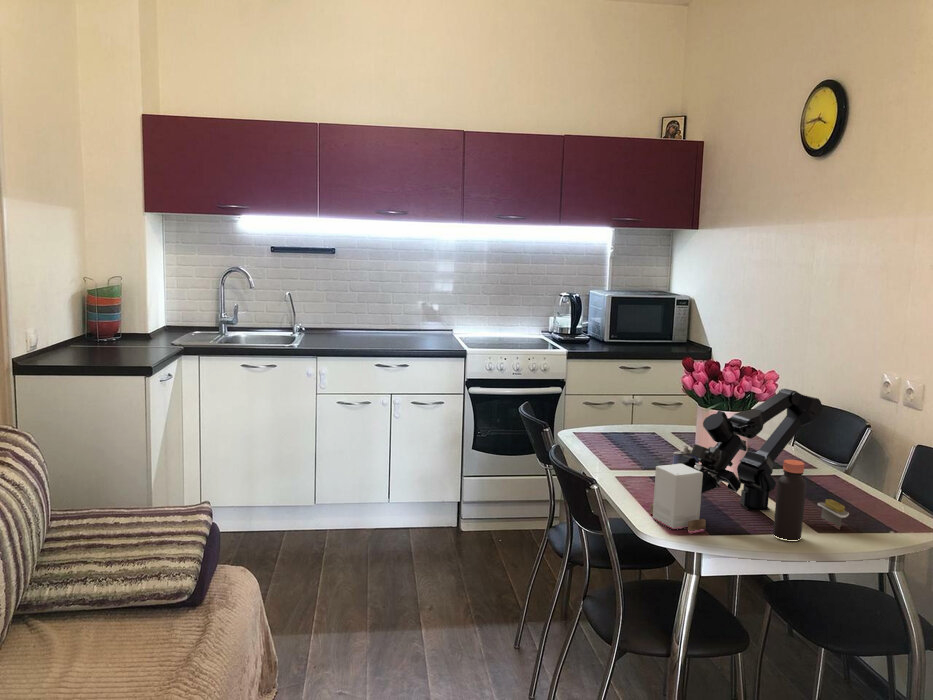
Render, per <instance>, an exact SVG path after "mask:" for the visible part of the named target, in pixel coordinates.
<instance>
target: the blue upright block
mask: <svg viewBox="0 0 933 700" xmlns="http://www.w3.org/2000/svg"><path fill="white" fill-rule="evenodd" d="M682 448H683V450H682V451H681V450H680V451H674V452H673V455H672V456H673V457H672V465H673V464H680V463H679V462H678V459H679V458H680V457H681V455H688V456H690V457H693V458H694V459H695V460H696V461H697V463H698V464H700V462H699V461H698V459H699V458H698V457H696V456H694V455H693V456H692V455H691V452H692V449H689V446H688V445H684V446H682Z"/></svg>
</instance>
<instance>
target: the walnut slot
mask: <svg viewBox="0 0 933 700" xmlns="http://www.w3.org/2000/svg"><path fill="white" fill-rule="evenodd" d="M653 504H654V503H650V512H649V514H650V513H652V514H653ZM706 521H707V520H706V519H704V518H699V519H698V520H693V521H688V528H687V530H689V531H695V530H700V529H705V530H706V524H707V522H706Z"/></svg>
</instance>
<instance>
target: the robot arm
mask: <svg viewBox="0 0 933 700" xmlns="http://www.w3.org/2000/svg"><path fill="white" fill-rule="evenodd" d="M785 410H786V416H785V417H784V418H783V419H782V421H781V422H780V423H779V424H778V425H777V427H776V428H775V429H774V430H773V432H772V433H771V434H770V436H768V438H767V439H766V440H765V442H764V443H763V445H761V447H760V448H759V449H758V451H755V452H753V451H750V450H748V451H747V449H748V448H747V441H746V440H743V439H742V438H741V437H743V438H746V439H750V440H751V439H754V438H755V437H756V436H757V435H758V434H760V433H761V432H762V431H763V429H764V426H765V424H766V423H767V422H769V421H771V420H772V419H774V418H775V417H776V416H778V415H779V414H781V413H782V412H784V411H785ZM822 411H823V404H822V402H821V400H820V399H819V398H817V397H814V396H808V395H805V394H801V393H800V392H798V391H797V390H793V389H789V388H781V389H780V390H779V391H778V392H777V393H775V394H773V396H771V397H769V398H767V400H764V401H763V402H762V403H760V404H759V405H757V406H756V407H754V408H752V409H748V410H741V411H739V412H737V413H734V414H733V415H732V416H731V417H729V418H728V416H727V414H726V413H725V411H723V410H722V411H721V410H718V411H717V412H716V413H713V414H710V415H708V416H706V417H705V418H704V420H703V422H702V426H703V428H704V429H705V431H706V432H707V434H708V435H709V436H710V437H711V439H712V440H713V441H714V442H715V443H716V444H715V445H714V446H713V447H712V446H709V447H704V446H702V445H700V444H696V443H695V444H694V445H693V448H692V449H691V451H692V452H691V455H692V456H693V455H694V456H696V457H698V458H699V459H698V461H699V464H698V463H697V461H696V460H695V459H694V458H693V457H690V456H688V455H681V457H680V458H679V459H678V462H679V463H680V464H684V465H686V466H688V467H691V468H693V469H695V470H698V471H700V472H703V479H702V491H701V495H702V494H704V493H706V492H708V491H712V490H714V489H717V488H718V489H719V488H720V487H721V486H720V484H721V483H722V482H724V483H727V488H728V490H729V491H732V492H735V493H737V492H738V491H739V490H740V489H741V486H742V485H741V484H743V489H741V492H740V494H741V495H740V501H739V504H740V503H741V504H742V505H743V507H744V508H745V509H746V508H747V509H748V510H747V509H746V510H747V511H749V510H770V511H771V508H770V507H769V496H770V492H772V491H774V490H775V488H776V485H777V481H776V480H775V479H774V478H773V476H772V475H773V471H774V470H773V469H774V462H775V460H776V459H777V458H778V456H779V455H780V454H781V453H782V452H783V451H784V449H785V448H786V447H787V446H788V444H789V443H790V442H791V440H792V439H793V438H794V437H795V435H796V434H797V433H798V431H799V430H800V429H801V427H803V426H805V425H808V424H811V423H812V422H814V421H815V420H816V419H817V418H818V417H819V416H820V415H821V413H822ZM740 450H741V451H743V452H746V453H745V455H744V456H743V457H742V458H741V459H740V460H739V463H738V465H737V467H736V468H737V469H736V470H737V475H736V473H734V472H733V471H732V470H728V469H727V467H730V468H731V467H733V465H734V463H733V462H732V461H733V459H734V458H735V457H736V455H737V454H738V453H739V451H740ZM737 476H738V477H737ZM741 504H740V505H741ZM742 505H741V506H742Z"/></svg>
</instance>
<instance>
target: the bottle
mask: <svg viewBox="0 0 933 700" xmlns="http://www.w3.org/2000/svg"><path fill="white" fill-rule="evenodd" d="M782 466H783V467H782V471H783V474H782V475H781V476H780V477H779V478H778V480H777V487H776V488H777V489H776V498H775V499H776V500H775V508H774V517H773V519H774V520H773V530H772V535H773V534H774V535H775V536H777V537H779V538H783V539H787V540H798V539H800V538H801V539H802V532H803V531H802V530H803V521H804V512H805V502H806V494H807V493H806V492H807V481H806V480H805V479H804V477H803V475H804V472H805V462H803V461H801V460H796V459H784V460H783V465H782ZM774 535H773V536H774ZM801 539H800V540H801Z"/></svg>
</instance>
